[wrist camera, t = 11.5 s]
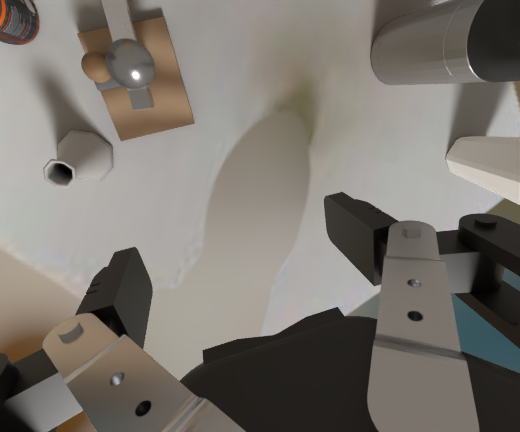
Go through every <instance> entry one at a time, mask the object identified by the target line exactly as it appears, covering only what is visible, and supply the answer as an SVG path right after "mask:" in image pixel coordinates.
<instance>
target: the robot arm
mask: <svg viewBox="0 0 520 432" xmlns="http://www.w3.org/2000/svg"><path fill="white" fill-rule="evenodd" d="M371 63H372V68H373V71H374V73H375V75H376V76H377V78H378V79H379V80H380V81H382V82H383V83H385V84H388V85H417V84H451V83H480V82H507V81H520V0H449V1H446V2H443V3H441V4H438V5H435V6H432V7H429V8H426V9H423V10H420V11H417V12H414V13H411V14H408V15H405V16H402V17H399V18H396V19H394V20H392V21H390V22H388V23H387V24H386V25H385V26H384V27H383V28H382V29H381V30H380V31H379V33H378V35H377V36H376V38H375V41H374V43H373V47H372V51H371ZM324 208H325V218H326V228H327V233H328V236H329V238H330V240H331V242H332V243H333V244H334V245H335V246H336V247H337V248H338V249H339V250H340V251H341V252H342V253H343V254H344V255H345V256H346V257H347V258H348V259H349V261H350V262H351V263H352V264H353V265H354V266H355V267H356V268H357V269H358V270H359V271H360V272H361V273H362V274H363V275H364V276H365V277H366V278H367V279H368V280H369V281H370V282H371V283H372V284H373V285H374V286H377V285H380V284H381V292H380V301H379V310H378V319H374V318H369V317H361V316H344V315H343V314H342V312H341V311H340V309H339V308H338V307H336V308H333V309H330V310H327V311H323V312H320V313H317V314H314V315H311V316H308V317H305V318H304V319H302V320H300V321H299V322H297V323H295V324H293V325H292V326H290V327H288V328H286V329H285V330H283V331H281V332H280V333H278V334H276V335H272V336H263V337H254V338H244V339H237V340H233V341H231V342H227V343H224V344H221V345H218V346H215V347H212V348H209V349H205V350H203V363H202V364H200V365H198V366H197V367H195V368H194V369H193V370H191V371H190V372H189V373H188V374H187V375H185V376H184V377H183V378H182V379H181V380H180V381H178V380H177V379H176V378H175V377H174V376H173V375H171V374H170V373H169V372H168V371H167V370H166V369H164V368H163V367H162V366H161V365H160V364H159V363H158V362H156V361H155V360H154V359H153V358H152V357H151V356H150V355H148V354H147V353H146V352H145V351H144V350H143V346H144V341H145V335H146V329H147V322H148V317H149V311H150V305H151V299H152V293H153V291H152V284H151V280H150V277H149V275H148V273H147V270H146V268H145V266H144V263H143V261H142V258H141V256H140V254H139V252H138V250H137V248H136V247H132V248H128V249H125V250H121V251H117V252H115V253H114V254H113V257H112V259H111V261H110V263H109V265H108V267H104V268H103V269H102V270H101V271H100V272H99V273H98V274H97V275H96V276H95V277H94V278H93V280H92V282H91V284H90V287H89V288H88V290H87V292H86V295H85V296H84V298H83V300H82V302H81V305H80V306H79V309H78V310H77V313H76V314H75V316H73V317H71V318H69V319H67V320H65V321H63V322H62V323H60V324H59V325H57V326H56V327H55V328H54V329H53V330H51V332H50V333H49V334H48V335H47V336H46V338H45V339H44V342H43V349H41V350H40V351H37V352H35V353H33V354H31V355H29V356H27V357H25V358H23V359H21V360H19V361H17V362H15V363H13V362H12V361H11V360H10V359H9V357H8V356H7V355H5V354H3V353H0V432H55V431H56V429H57V426H58V425H60V424H61V423H63V422H64V421H66V420H68V419H70V418H71V417H73V416H74V415H76V414H78V413H79V412H81V411H84V412H85V414H86V415H87V417H88V418H89V420H90V421H91V423H92V424H93V426H94V428H95V429H96V431H97V432H520V373H517V372H515V371H512V370H509V369H507V368H504V367H502V366H499V365H496V364H493V363H491V362H489V361H486V360H483V359H481V358H478V357H476V356H473V355H470V354H468V353H465V352H463V351H461V349H460V344H459V339H458V332H457V327H456V321H455V315H454V310H453V304H452V298H451V293H454V294H455V295H456V296H457V297H458V298H460V299H461V300H462V301H463V302H464V303H466V304H467V305H468V306H469V307H470V308H472V309H473V310H474V311H475V312H476V313H478V314H479V315H480V316H481V317H483V318H484V319H485V320H486V321H487V322H488V323H490V324H491V325H492V326H493V327H494V328H496V329H497V330H498V331H499V332H501V333H502V334H503V335H504V336H505V337H506V338H508V339H509V340H510V341H511V342H512V343H514V344H515V345H516V346H517V347H518V348H520V291H518V290H517V289H515V288H514V287H512V286H511V285H509V284H507V283H506V282H504V281H503V280H502V278H503V274H504V269H505V268H507V269H509V270H510V271H512V272H514V273H515V274H517V275H519V276H520V225H519V224H517V223H514V222H512V221H510V220H507V219H505V218H503V217H500V216H495V215H491V214H470V215H466V216H463V217H462V218H460V220H459V227H458V230H451V231H440V232H436V231H435V229H434V228H433V227H432V226H431V225H429V224H427V223H424V222H420V221H400V222H399V221H397V220H396V219H394V218H393V217H391V216H389V215H388V214H386V213H384V212H382V211H381V210H379V209H378V208H375V206H373V205H371V204H370V203H368V202H365V201H361V200H357V199H356V200H354V199H353V198H351V197H350V196H348V195H347V194H345V193H343V192H340V193H336V194H332V195H329V196H325V198H324Z"/></svg>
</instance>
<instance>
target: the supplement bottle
mask: <svg viewBox="0 0 520 432" xmlns="http://www.w3.org/2000/svg"><path fill="white" fill-rule="evenodd" d="M38 30H39V18H38V14H37V11H36V9H35V8H34V6H33V4H32V3H31V1H30V0H0V41H1V42H5V43H8V44H14V45H22V44H26V43H29V42H31V41H32V40H33V39H34V38H35V37H36V35H37V33H38Z"/></svg>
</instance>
